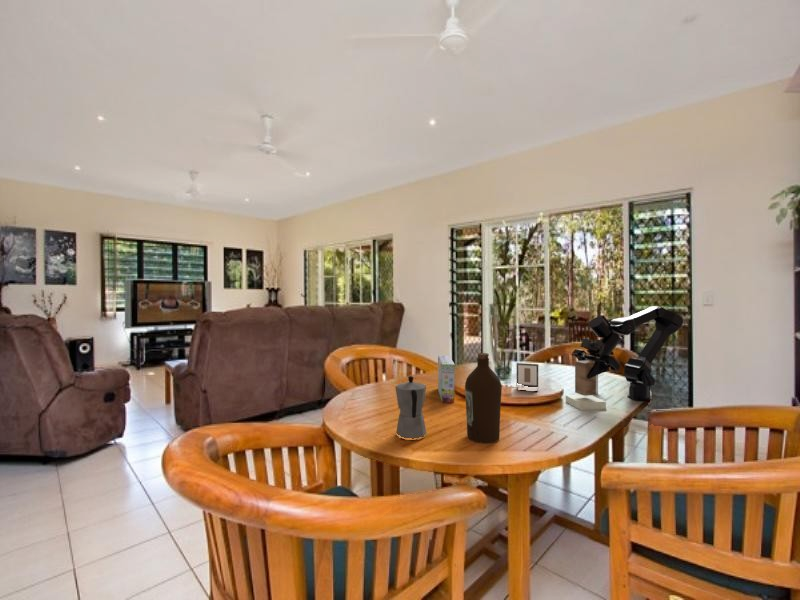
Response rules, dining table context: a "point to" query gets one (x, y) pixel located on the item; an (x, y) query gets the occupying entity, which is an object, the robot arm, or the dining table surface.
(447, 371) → the snack box
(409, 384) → the coffeepot
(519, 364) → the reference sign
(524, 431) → the dining table surface
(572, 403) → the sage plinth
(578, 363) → the walnut block
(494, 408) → the olive oil
